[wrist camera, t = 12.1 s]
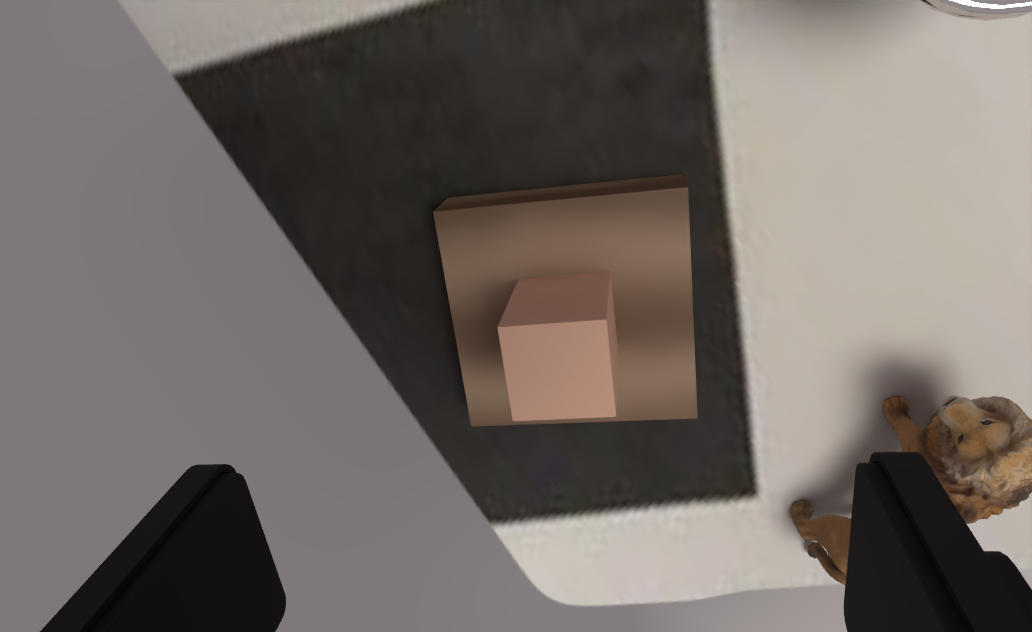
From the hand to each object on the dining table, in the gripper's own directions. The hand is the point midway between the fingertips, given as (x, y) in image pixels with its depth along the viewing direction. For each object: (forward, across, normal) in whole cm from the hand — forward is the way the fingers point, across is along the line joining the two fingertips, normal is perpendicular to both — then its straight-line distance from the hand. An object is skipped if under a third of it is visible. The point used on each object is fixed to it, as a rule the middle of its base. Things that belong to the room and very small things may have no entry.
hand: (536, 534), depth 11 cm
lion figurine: (+26, -14, +17) cm, 34 cm away
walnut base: (+26, +2, +7) cm, 27 cm away
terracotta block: (+23, +2, +7) cm, 24 cm away
